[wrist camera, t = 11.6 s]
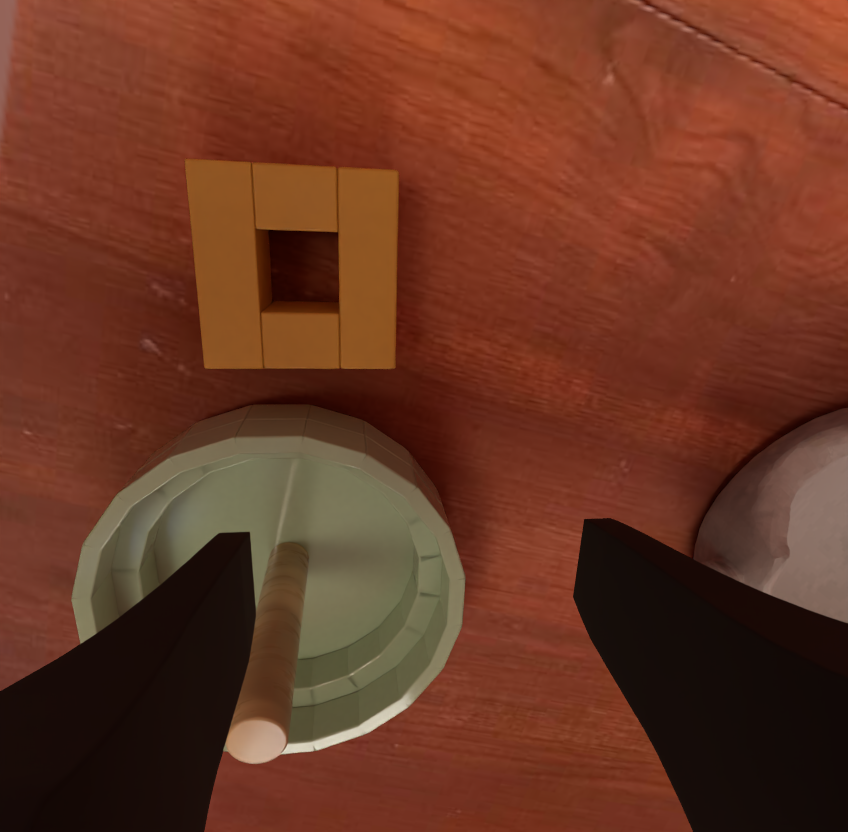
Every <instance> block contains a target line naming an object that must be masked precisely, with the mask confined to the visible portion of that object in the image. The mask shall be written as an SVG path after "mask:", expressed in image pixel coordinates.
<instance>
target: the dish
mask: <svg viewBox="0 0 848 832" xmlns="http://www.w3.org/2000/svg"><path fill="white" fill-rule="evenodd" d="M693 559H694V560H696V561H698V562H700V563H702V564H704V565H706V566H708V567H710V568H712V569H714V570H716V571H718V572H720V573H722V574H724V575H727V576H729V577H731V578H733V579H735V580H737V581H739V582H742V583H744V584H746V585H748V586H750V587H753V588H755V589H757V590H760V591H762V592H764V593H767V594H769V595H772V596H774V597H777V598H779V599H782V600H784V601H787V602H789V603H792V604H795V605H797V606H800V607H802V608H805V609H807V610H810V611H813V612H816V613H819V614H822V615H824V616H827V617H830V618H833V619H836V620H839V621H842V622H845V623H848V408H844V409H840V410H837V411H834V412H831V413H828V414H826V415H823V416H820V417H817V418H815V419H813V420H811V421H809V422H807V423H805V424H803V425H801V426H800V427H798V428H796V429H795V430H793V431H791V432H789V433H788V434H786V435H784V436H783V437H781V438H779V439H778V440H776V441H775V442H773V443H772V444H771V445H770V446H768V447H767V448H766V449H764V450H763V451H761V452H760V453H759V454H757V455H756V456H755V457H754V458H753V459H752V460H751V461H750V462H749V463H747V464H746V465H745V466H744V467H743V468H742V469H741V470H740V471H739V472H738V473H737V474H736V475H735V476H734V477H733V479H732V480H731V481H730V482H729V483H728V484H727V486H726V487H725V488H724V489H723V490H722V491H721V492H720V494H719V495H718V496H717V498H716V499H715V501H714V503H713V504H712V506H711V507H710V509H709V511H708V512H707V514H706V516H705V518H704V520H703V522H702V524H701V527H700V529H699V533H698V537H697V541H696V544H695V549H694V557H693Z"/></svg>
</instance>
